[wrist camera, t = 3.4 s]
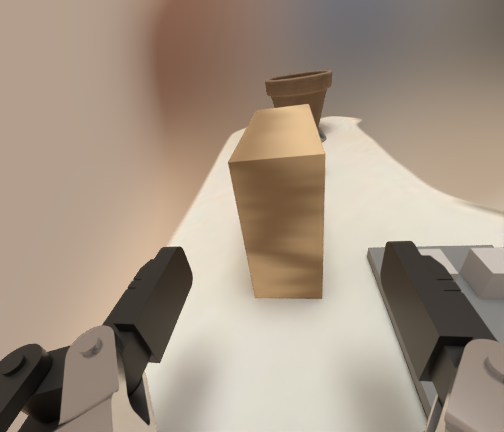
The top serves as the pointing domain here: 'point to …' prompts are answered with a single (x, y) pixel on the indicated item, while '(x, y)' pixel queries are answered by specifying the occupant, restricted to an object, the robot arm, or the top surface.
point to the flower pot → (300, 90)
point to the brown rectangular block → (281, 201)
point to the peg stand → (471, 284)
